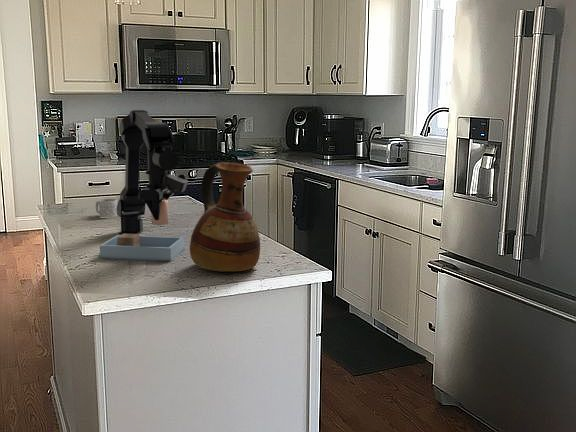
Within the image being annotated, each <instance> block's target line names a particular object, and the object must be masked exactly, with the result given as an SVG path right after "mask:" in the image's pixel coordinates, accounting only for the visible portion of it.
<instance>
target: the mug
mask: <svg viewBox="0 0 576 432" xmlns="http://www.w3.org/2000/svg"><path fill="white" fill-rule="evenodd" d="M117 205H118V201H117V198H103V199H99V200H97V201H95V211H96V213H97V214H99V218H100V217H115V216H117V217H118V215H117V210H116V209H117Z"/></svg>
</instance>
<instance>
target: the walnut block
mask: <svg viewBox="0 0 576 432" xmlns="http://www.w3.org/2000/svg"><path fill="white" fill-rule="evenodd" d="M119 235H120V236H119V237H117V240H118V246H140V240H139V236H140V233H139V234H119Z"/></svg>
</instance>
